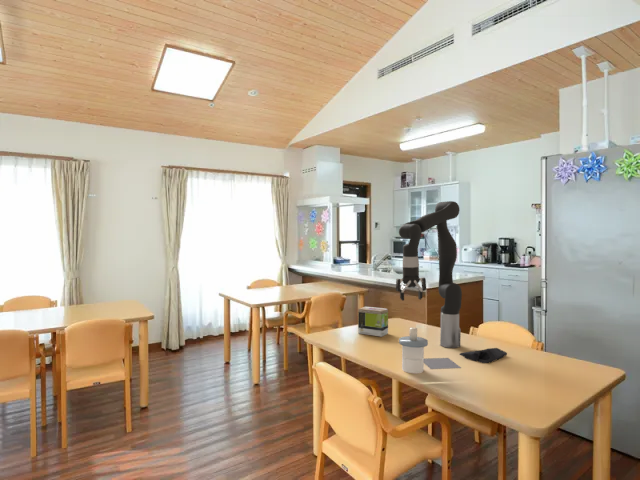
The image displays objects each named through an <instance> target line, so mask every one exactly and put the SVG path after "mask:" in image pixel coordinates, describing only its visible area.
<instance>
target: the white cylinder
mask: <svg viewBox="0 0 640 480" xmlns="http://www.w3.org/2000/svg"><path fill="white" fill-rule="evenodd" d="M401 349H402V350H401V352H402V353H401V358H402V359H401V369H402V371H403V372H405V373H408V374H422V373H424V370H425V369H424V367H425V366H424V365H425V364H424V359H425V358H424V357H425V355H424V354H425V347H418V348H416V347H407V346H403V345H401Z"/></svg>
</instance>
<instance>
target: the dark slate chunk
mask: <svg viewBox="0 0 640 480" xmlns="http://www.w3.org/2000/svg"><path fill="white" fill-rule="evenodd" d="M507 355H508V352H507V351H504V350H502V349H500V348H499V347H492V348H491V347H490V348H486V349H481V350H479V349H478V350H472V351H464V352H460V353H459V356H462V357H464V359H466V360H468V361H473V362H478V363H481V364H489V362H490V363H493V362H495V361H497V360H500V359H502V358H504V357H506V356H507ZM499 358H500V359H499ZM496 359H497V360H496ZM492 361H493V362H492Z"/></svg>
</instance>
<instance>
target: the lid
mask: <svg viewBox="0 0 640 480" xmlns="http://www.w3.org/2000/svg"><path fill="white" fill-rule="evenodd" d="M428 342H429V341H428V339H426V338H424V337H420V336H418V328H417V327H412V326H411V327H409V335H408V336H402V337H399V338H398V344H399V345H401V346H402V345H403V346H407V347H416V348H418V347H424V348H425V347H427V346H428V344H429V343H428Z"/></svg>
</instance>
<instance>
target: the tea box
mask: <svg viewBox="0 0 640 480" xmlns="http://www.w3.org/2000/svg"><path fill="white" fill-rule="evenodd" d="M357 311H358V312H357V313H358V314H357V317H358V318H357V319H358V320H357V322H358V325H357V327H358V328H357V329H358V331H357V332H358V334H360V335H368V336H374V337H375V336H376V337H385V336H387V334H388V333H389V309H388V308H385V307H384V308H383V307H375V306H374V307H373V306H363V307H360V308H358V309H357Z"/></svg>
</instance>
